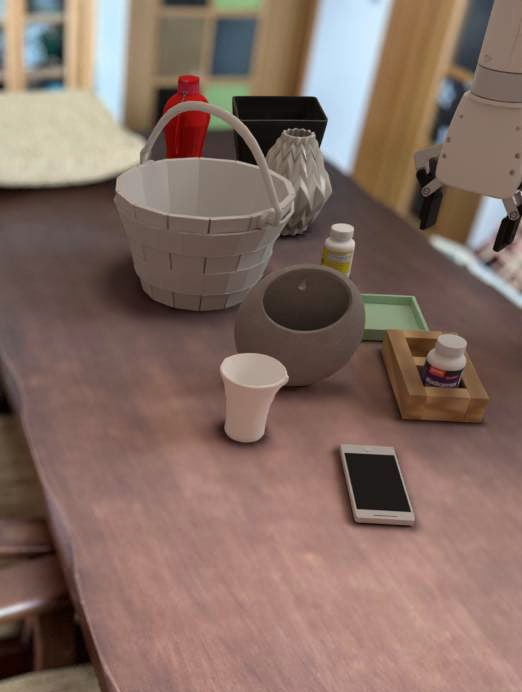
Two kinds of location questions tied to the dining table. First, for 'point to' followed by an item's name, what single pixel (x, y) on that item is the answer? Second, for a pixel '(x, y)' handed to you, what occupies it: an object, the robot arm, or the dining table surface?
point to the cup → (250, 393)
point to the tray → (391, 315)
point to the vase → (301, 176)
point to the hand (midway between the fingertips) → (462, 237)
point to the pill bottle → (445, 362)
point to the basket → (202, 220)
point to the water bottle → (186, 122)
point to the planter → (302, 321)
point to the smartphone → (376, 485)
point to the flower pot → (275, 120)
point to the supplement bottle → (339, 248)
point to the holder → (429, 402)
